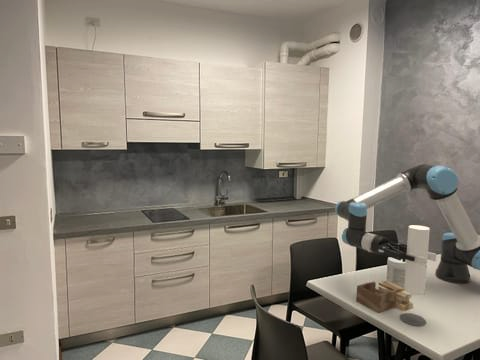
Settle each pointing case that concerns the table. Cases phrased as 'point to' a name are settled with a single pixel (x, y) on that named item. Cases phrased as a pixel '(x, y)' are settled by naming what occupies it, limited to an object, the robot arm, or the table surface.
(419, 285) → the cylindrical container
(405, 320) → the rubber mat
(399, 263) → the supplement tub
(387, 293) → the offcut rack
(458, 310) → the table surface
